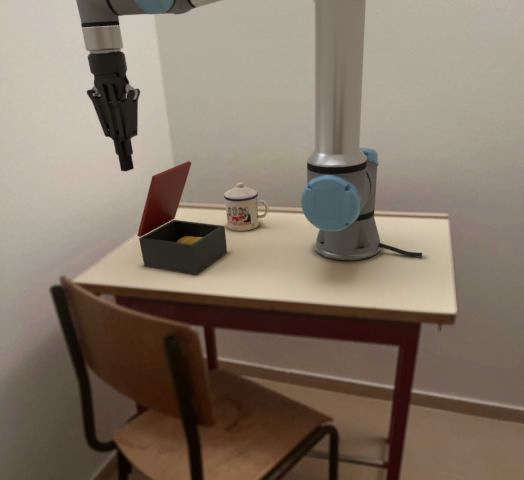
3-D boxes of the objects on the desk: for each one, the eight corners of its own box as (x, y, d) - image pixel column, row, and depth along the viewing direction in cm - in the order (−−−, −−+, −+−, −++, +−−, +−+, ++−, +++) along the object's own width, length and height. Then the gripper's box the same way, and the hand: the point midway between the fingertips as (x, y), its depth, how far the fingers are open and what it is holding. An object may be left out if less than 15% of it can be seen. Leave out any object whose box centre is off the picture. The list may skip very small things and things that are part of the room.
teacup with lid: (222, 230, 140) (218, 187, 134) (232, 219, 147) (229, 178, 141) (264, 232, 137) (262, 188, 131) (273, 221, 144) (271, 179, 138)
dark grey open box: (227, 253, 126) (224, 225, 123) (196, 275, 116) (192, 246, 112) (177, 245, 132) (173, 219, 129) (144, 266, 122) (138, 238, 118)
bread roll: (192, 257, 117) (188, 240, 115) (169, 258, 123) (164, 241, 122) (219, 247, 122) (214, 230, 120) (195, 247, 128) (191, 231, 127)
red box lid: (191, 162, 118) (188, 160, 118) (155, 178, 108) (152, 176, 108) (174, 218, 128) (172, 217, 128) (139, 237, 118) (137, 235, 118)
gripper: (142, 49, 106) (160, 167, 119) (94, 51, 111) (116, 164, 124) (118, 52, 100) (139, 175, 113) (68, 53, 106) (94, 172, 118)
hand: (127, 169), depth 119 cm, fingers closed
